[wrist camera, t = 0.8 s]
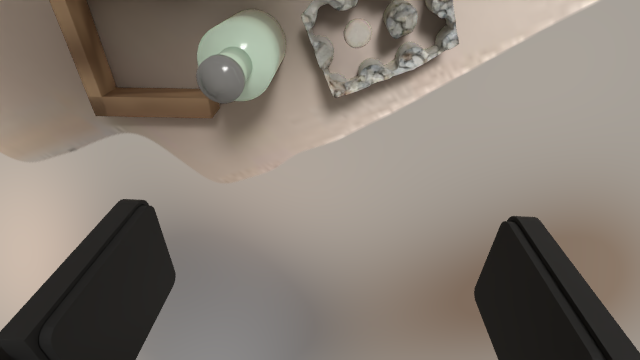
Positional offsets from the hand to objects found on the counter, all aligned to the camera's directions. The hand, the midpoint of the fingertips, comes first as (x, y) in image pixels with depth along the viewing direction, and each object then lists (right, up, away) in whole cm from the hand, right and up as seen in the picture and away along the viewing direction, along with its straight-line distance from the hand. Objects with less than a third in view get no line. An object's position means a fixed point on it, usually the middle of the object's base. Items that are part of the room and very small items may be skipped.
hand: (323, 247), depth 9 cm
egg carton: (+5, +15, +18) cm, 24 cm away
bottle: (-6, +13, +19) cm, 24 cm away
